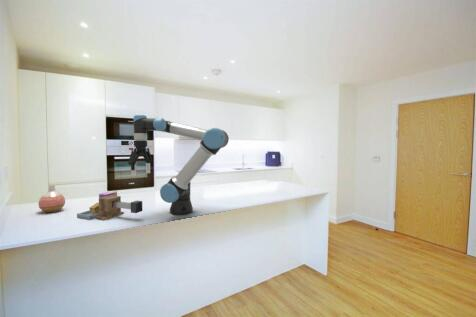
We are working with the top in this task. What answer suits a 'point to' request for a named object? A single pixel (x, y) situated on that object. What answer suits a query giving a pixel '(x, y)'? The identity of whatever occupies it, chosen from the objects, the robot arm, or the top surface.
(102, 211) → the bearing block
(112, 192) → the box
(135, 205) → the shaft
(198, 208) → the top surface
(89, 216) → the tray
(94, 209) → the spacer
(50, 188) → the vase
